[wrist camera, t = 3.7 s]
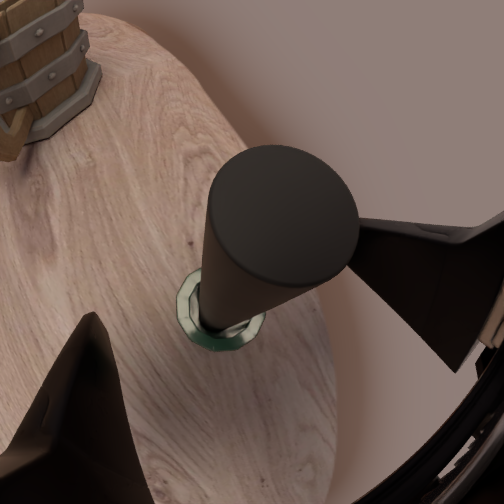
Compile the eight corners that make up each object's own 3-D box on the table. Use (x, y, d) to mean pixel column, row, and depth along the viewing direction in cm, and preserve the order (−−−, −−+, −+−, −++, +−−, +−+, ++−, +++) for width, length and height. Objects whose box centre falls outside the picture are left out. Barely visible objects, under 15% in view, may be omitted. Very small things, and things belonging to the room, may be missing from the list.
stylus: (232, 331, 16) (374, 282, 3) (199, 332, 16) (210, 292, 3) (230, 299, 17) (343, 151, 4) (197, 300, 16) (208, 138, 3)
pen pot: (248, 346, 17) (269, 347, 12) (183, 349, 16) (178, 353, 11) (243, 284, 18) (261, 262, 13) (181, 285, 17) (175, 263, 12)
